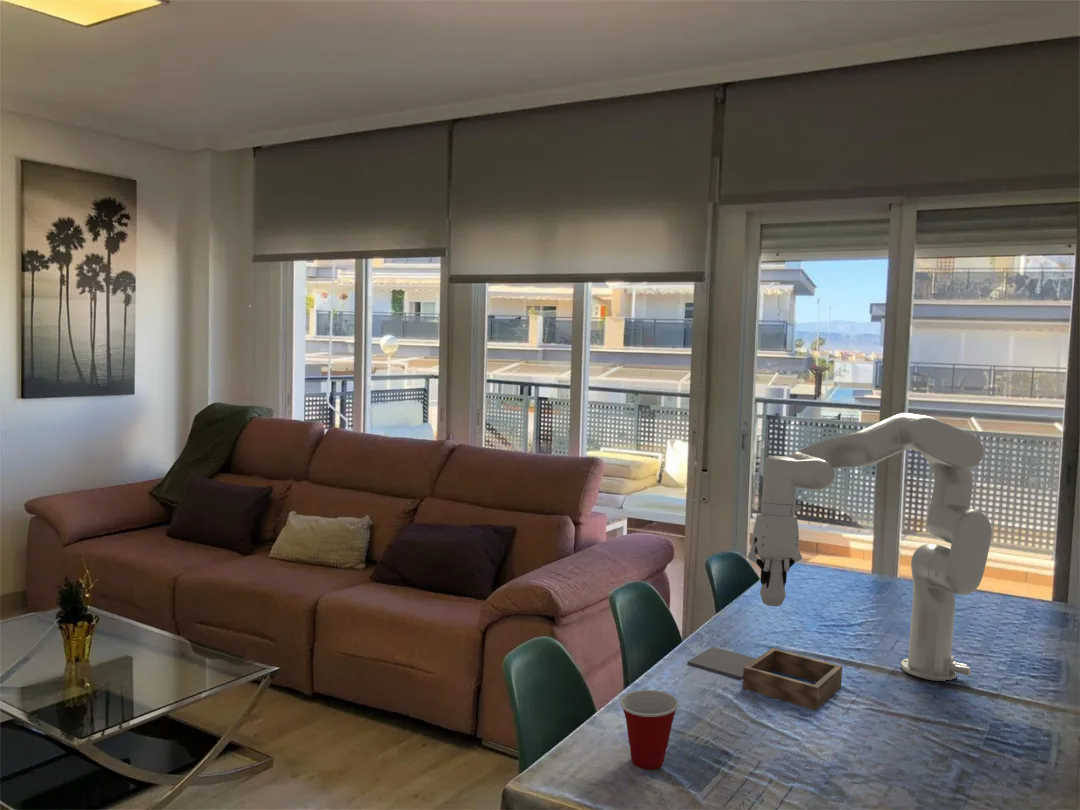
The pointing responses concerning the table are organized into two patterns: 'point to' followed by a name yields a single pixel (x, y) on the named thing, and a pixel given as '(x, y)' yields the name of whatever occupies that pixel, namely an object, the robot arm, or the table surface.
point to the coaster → (722, 661)
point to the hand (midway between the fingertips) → (772, 586)
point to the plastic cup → (648, 725)
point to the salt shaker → (774, 584)
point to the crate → (790, 689)
